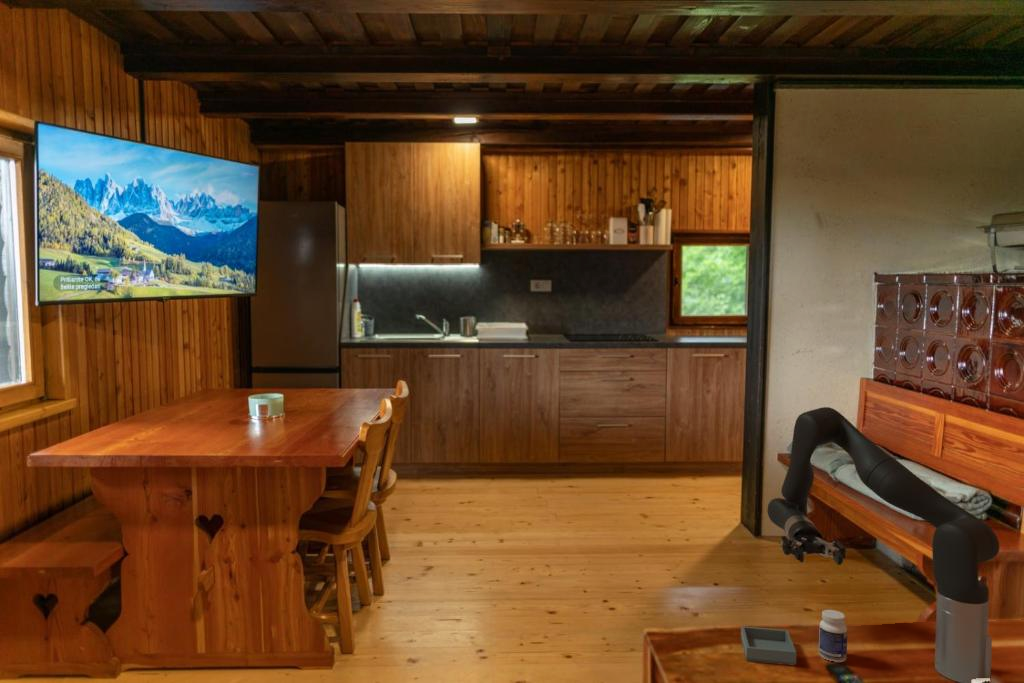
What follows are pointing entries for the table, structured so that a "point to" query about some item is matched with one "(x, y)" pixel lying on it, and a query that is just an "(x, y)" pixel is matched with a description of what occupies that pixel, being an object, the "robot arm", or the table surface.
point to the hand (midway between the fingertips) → (820, 559)
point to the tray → (768, 645)
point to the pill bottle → (833, 636)
